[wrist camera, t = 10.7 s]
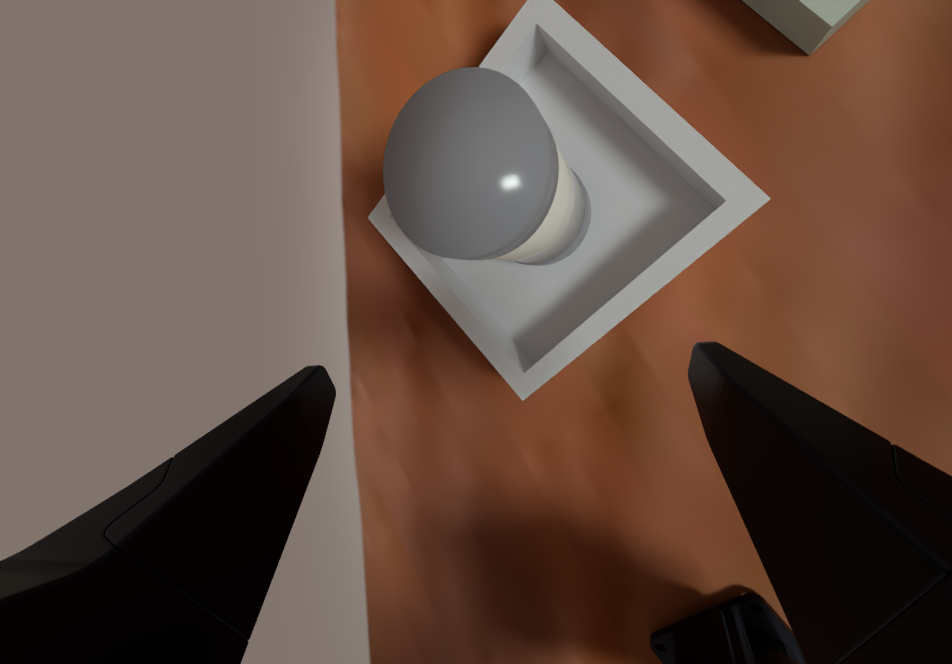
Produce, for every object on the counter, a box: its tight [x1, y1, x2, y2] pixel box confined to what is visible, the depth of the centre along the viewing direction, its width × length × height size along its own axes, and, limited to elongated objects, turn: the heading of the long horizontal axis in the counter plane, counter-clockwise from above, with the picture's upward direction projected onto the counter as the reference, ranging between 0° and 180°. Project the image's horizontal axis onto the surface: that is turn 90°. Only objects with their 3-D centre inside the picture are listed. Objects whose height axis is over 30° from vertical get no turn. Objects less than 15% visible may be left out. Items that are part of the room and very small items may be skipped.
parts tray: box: [368, 0, 770, 401], centre depth 19 cm, size 13×13×3 cm
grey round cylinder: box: [383, 67, 591, 266], centre depth 15 cm, size 5×5×10 cm
